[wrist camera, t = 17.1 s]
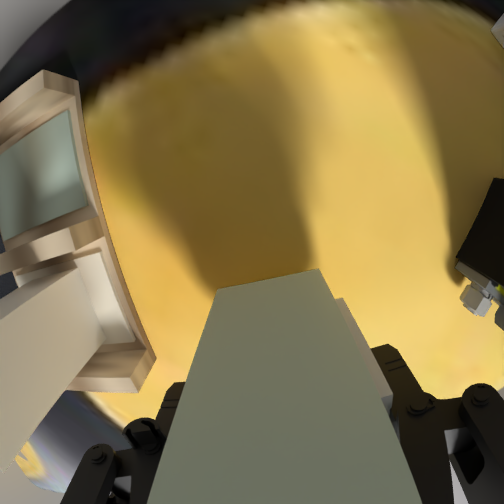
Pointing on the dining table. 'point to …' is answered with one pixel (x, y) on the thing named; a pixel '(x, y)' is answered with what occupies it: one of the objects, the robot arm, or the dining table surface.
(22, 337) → the white tall block
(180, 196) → the dining table surface
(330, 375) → the sage plug
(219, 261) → the dining table surface
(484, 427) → the robot arm
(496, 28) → the ink box
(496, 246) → the electrical component
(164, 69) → the dining table surface
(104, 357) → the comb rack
